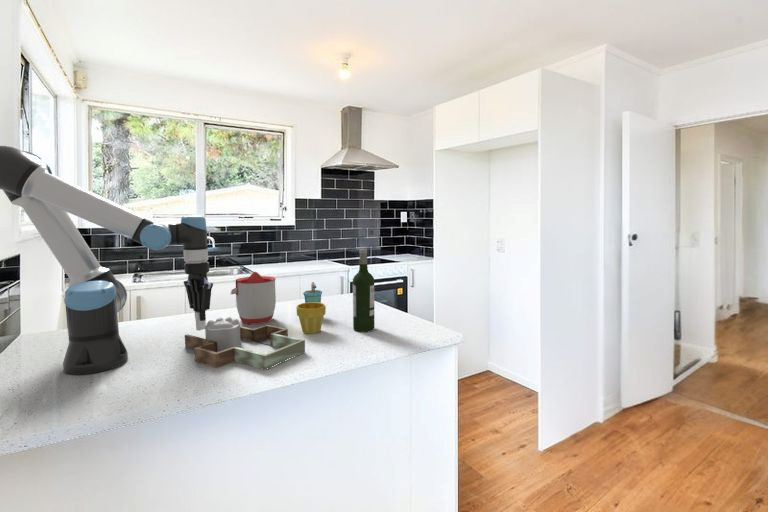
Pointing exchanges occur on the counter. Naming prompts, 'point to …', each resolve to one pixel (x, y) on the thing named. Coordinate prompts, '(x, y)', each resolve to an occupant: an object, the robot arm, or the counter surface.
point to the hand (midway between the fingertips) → (201, 329)
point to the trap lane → (264, 335)
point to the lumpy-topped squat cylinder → (224, 333)
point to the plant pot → (311, 316)
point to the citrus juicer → (255, 298)
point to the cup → (312, 294)
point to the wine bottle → (363, 297)
